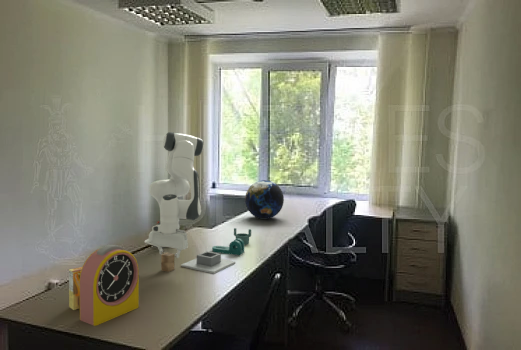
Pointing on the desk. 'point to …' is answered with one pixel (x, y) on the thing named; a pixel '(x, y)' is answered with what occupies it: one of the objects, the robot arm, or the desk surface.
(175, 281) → the desk surface
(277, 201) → the globe
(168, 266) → the walnut block
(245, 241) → the bracket
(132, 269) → the alarm clock
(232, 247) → the bracket
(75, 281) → the candy box
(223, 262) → the well
